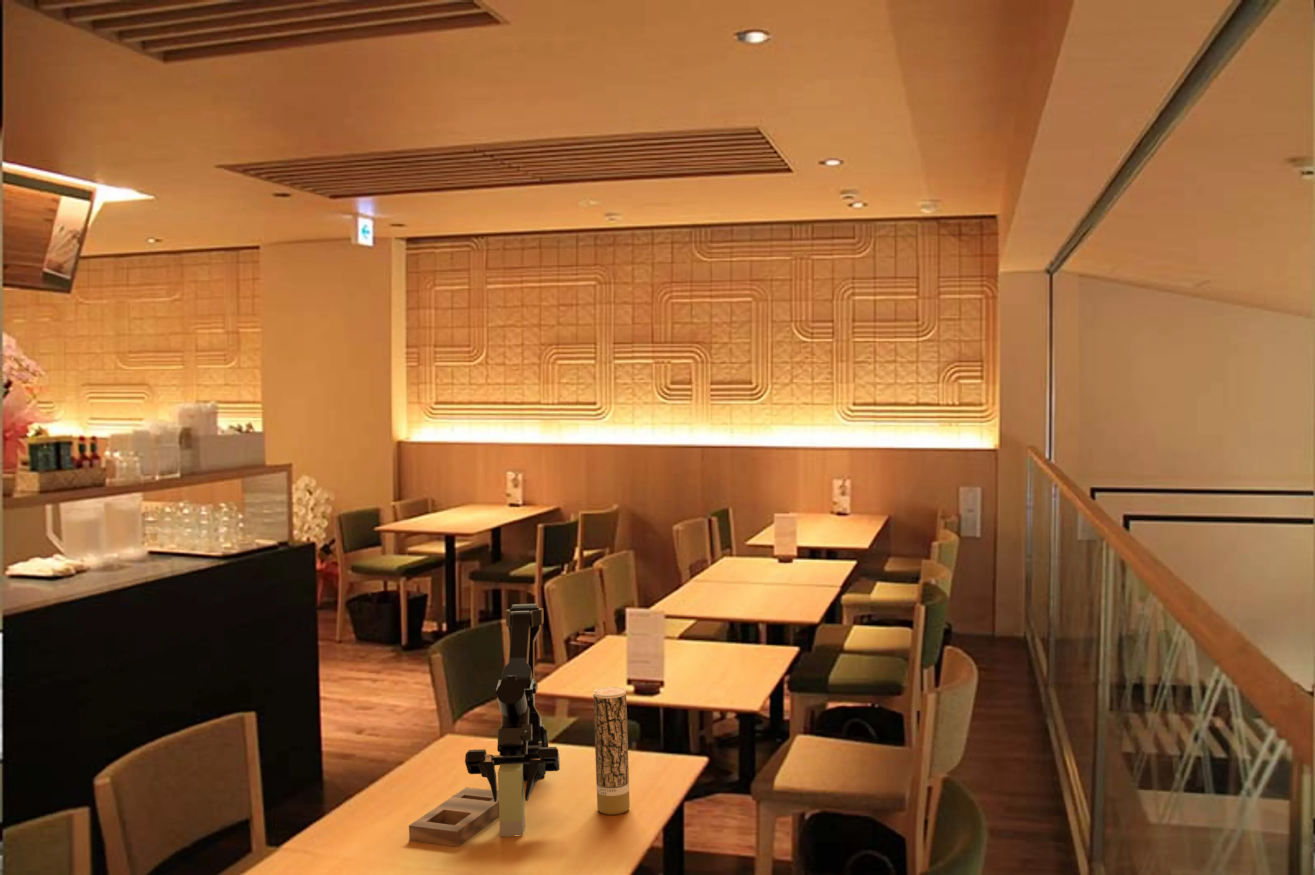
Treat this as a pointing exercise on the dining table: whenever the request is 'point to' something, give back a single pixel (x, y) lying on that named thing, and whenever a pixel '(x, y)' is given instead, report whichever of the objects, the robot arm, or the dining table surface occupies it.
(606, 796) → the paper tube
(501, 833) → the square bit
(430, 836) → the socket board
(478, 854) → the dining table surface
